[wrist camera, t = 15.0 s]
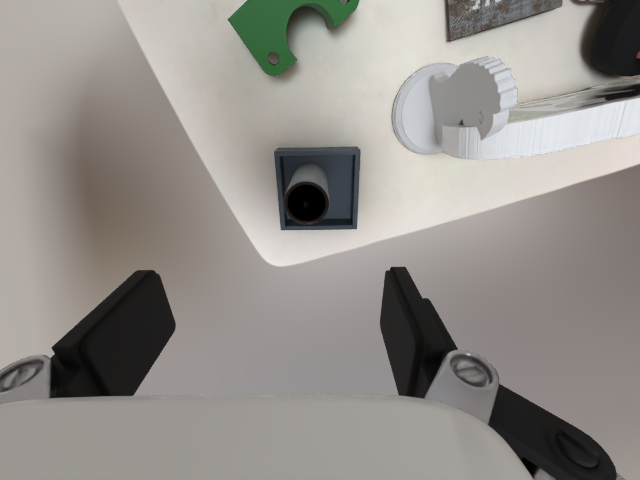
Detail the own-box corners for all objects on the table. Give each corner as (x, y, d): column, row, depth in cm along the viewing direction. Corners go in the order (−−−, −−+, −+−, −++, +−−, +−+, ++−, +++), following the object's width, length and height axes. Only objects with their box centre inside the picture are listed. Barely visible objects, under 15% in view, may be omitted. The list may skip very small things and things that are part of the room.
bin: (283, 222, 39) (280, 230, 37) (277, 148, 35) (274, 151, 32) (354, 221, 39) (356, 229, 36) (357, 146, 35) (360, 150, 32)
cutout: (862, 52, 19) (503, 131, 19) (838, 96, 20) (500, 169, 20) (623, 78, 32) (417, 124, 33) (617, 103, 34) (418, 147, 34)
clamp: (283, 61, 34) (259, 91, 29) (250, 10, 31) (215, 32, 25) (369, -8, 28) (360, 12, 22) (339, -83, 25) (319, -80, 19)
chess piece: (401, 164, 36) (450, 198, 22) (383, 82, 32) (430, 63, 18) (478, 138, 34) (581, 157, 21) (470, 49, 30) (592, 0, 17)
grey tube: (286, 175, 36) (274, 199, 27) (313, 155, 35) (311, 171, 25) (306, 202, 37) (302, 233, 28) (334, 183, 36) (338, 209, 27)
